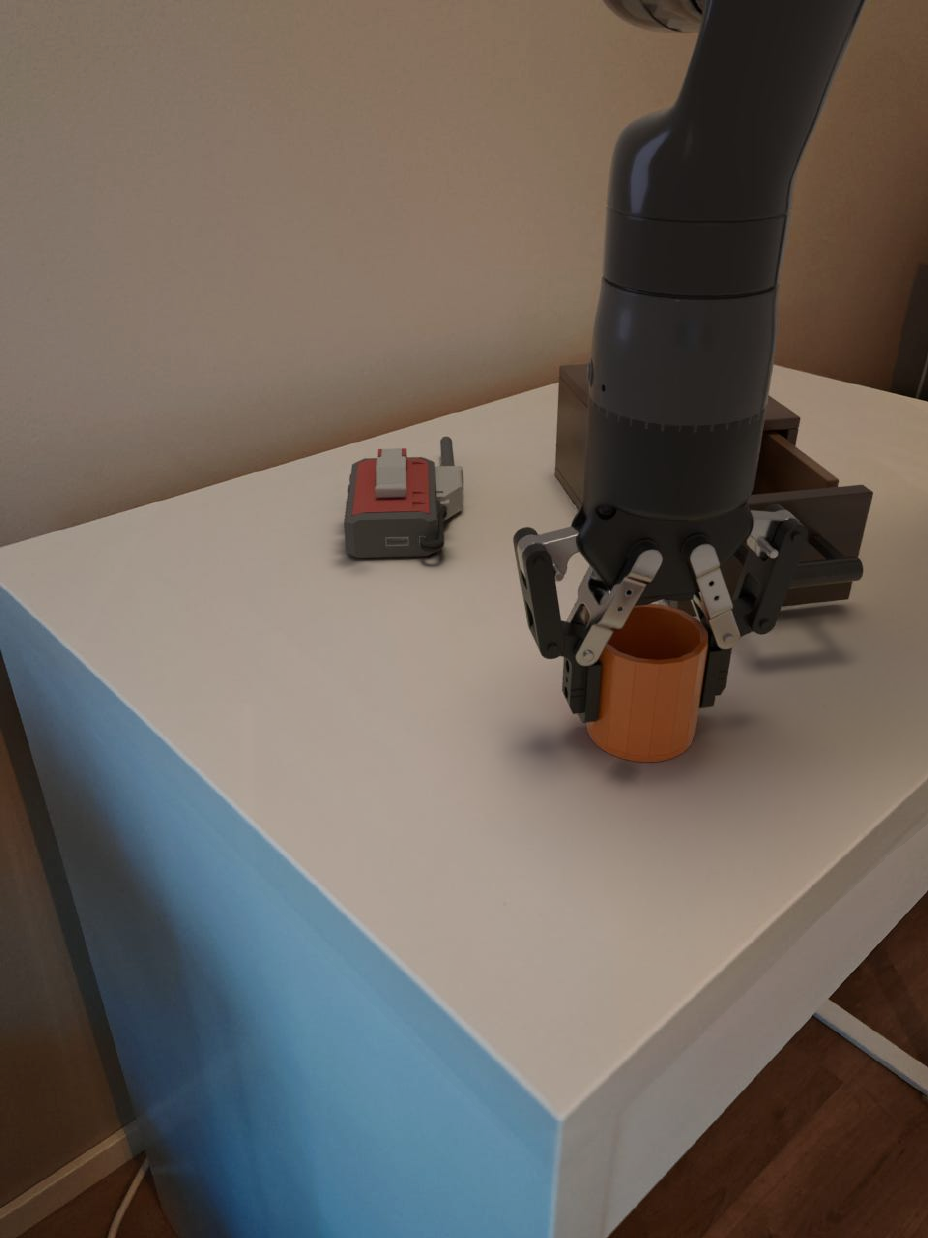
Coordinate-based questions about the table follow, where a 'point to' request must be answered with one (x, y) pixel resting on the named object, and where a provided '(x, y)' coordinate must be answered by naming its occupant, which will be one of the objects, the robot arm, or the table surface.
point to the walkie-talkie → (401, 503)
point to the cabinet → (575, 424)
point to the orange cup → (651, 685)
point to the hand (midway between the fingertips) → (642, 704)
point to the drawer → (806, 524)
